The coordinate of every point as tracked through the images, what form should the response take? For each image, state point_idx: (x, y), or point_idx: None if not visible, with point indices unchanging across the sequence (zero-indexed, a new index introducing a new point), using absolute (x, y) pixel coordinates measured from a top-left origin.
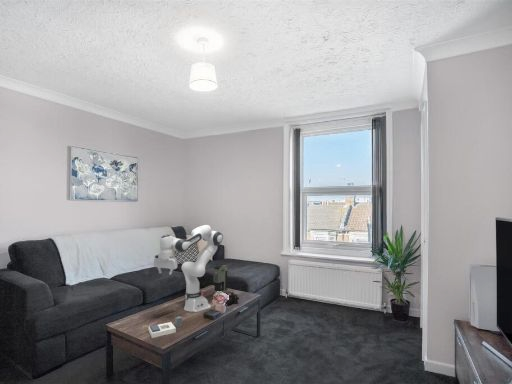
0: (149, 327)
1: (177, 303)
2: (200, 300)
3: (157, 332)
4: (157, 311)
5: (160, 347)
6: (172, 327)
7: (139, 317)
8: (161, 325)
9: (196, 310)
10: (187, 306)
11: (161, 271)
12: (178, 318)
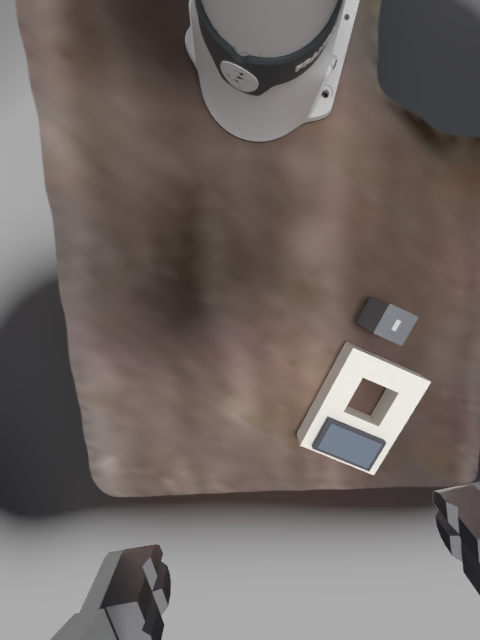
0: (311, 447)
1: (92, 71)
2: (343, 7)
3: (385, 455)
4: (119, 258)
5: None
6: (410, 385)
7: (121, 369)
8: (343, 402)
9: (328, 101)
10: (266, 122)
11: (149, 598)
12: (404, 335)
